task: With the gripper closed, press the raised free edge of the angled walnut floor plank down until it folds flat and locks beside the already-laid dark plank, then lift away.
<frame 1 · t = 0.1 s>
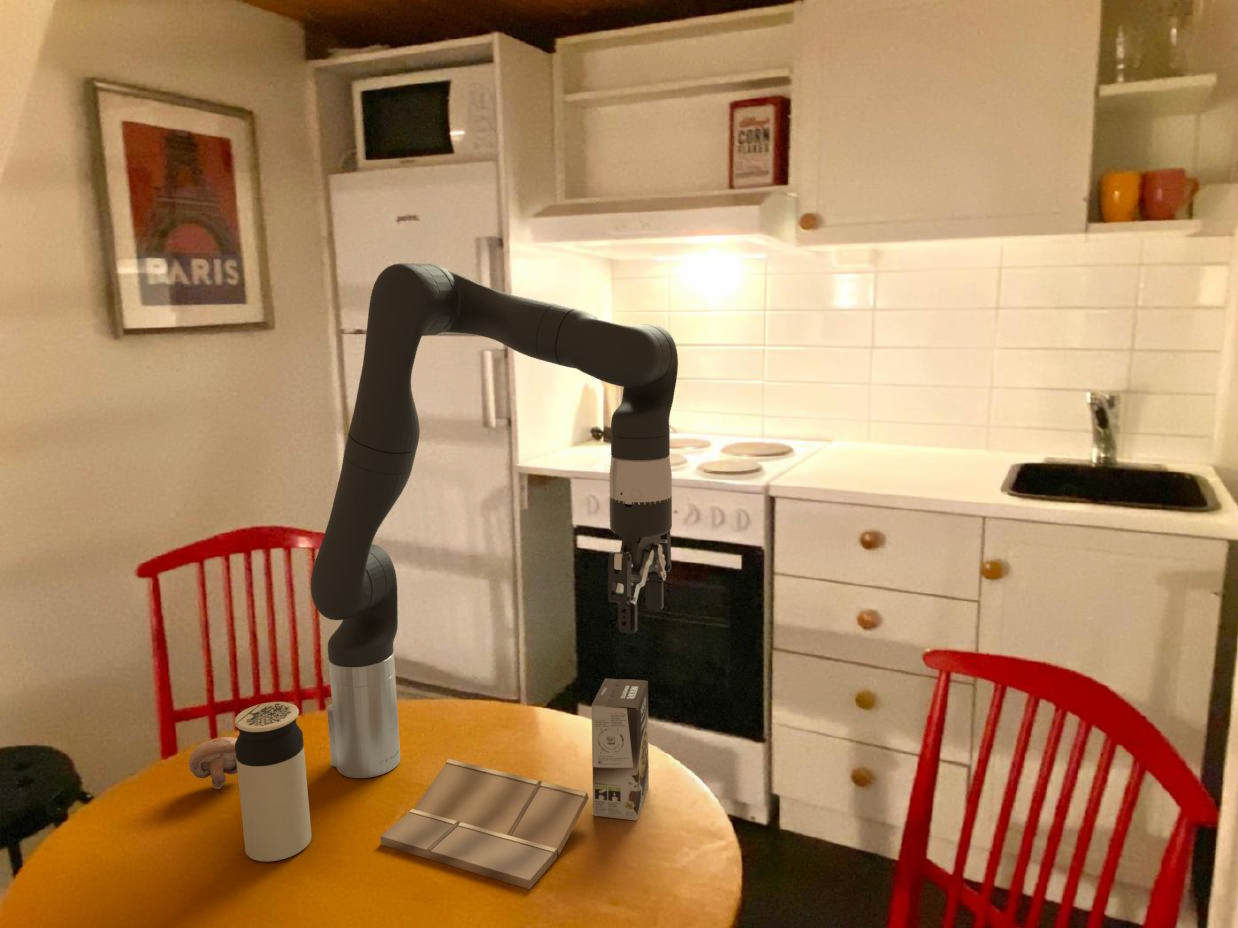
hand: (641, 620, 114), 29 cm above the table, fingers open, 8 cm apart
laid plank: (467, 850, 116), on the table
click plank: (500, 803, 122), point 2 cm above the table, hinge at 20.6°
travel mug: (279, 846, 118), on the table
coffee box: (622, 801, 127), on the table
mushroom: (221, 788, 131), on the table
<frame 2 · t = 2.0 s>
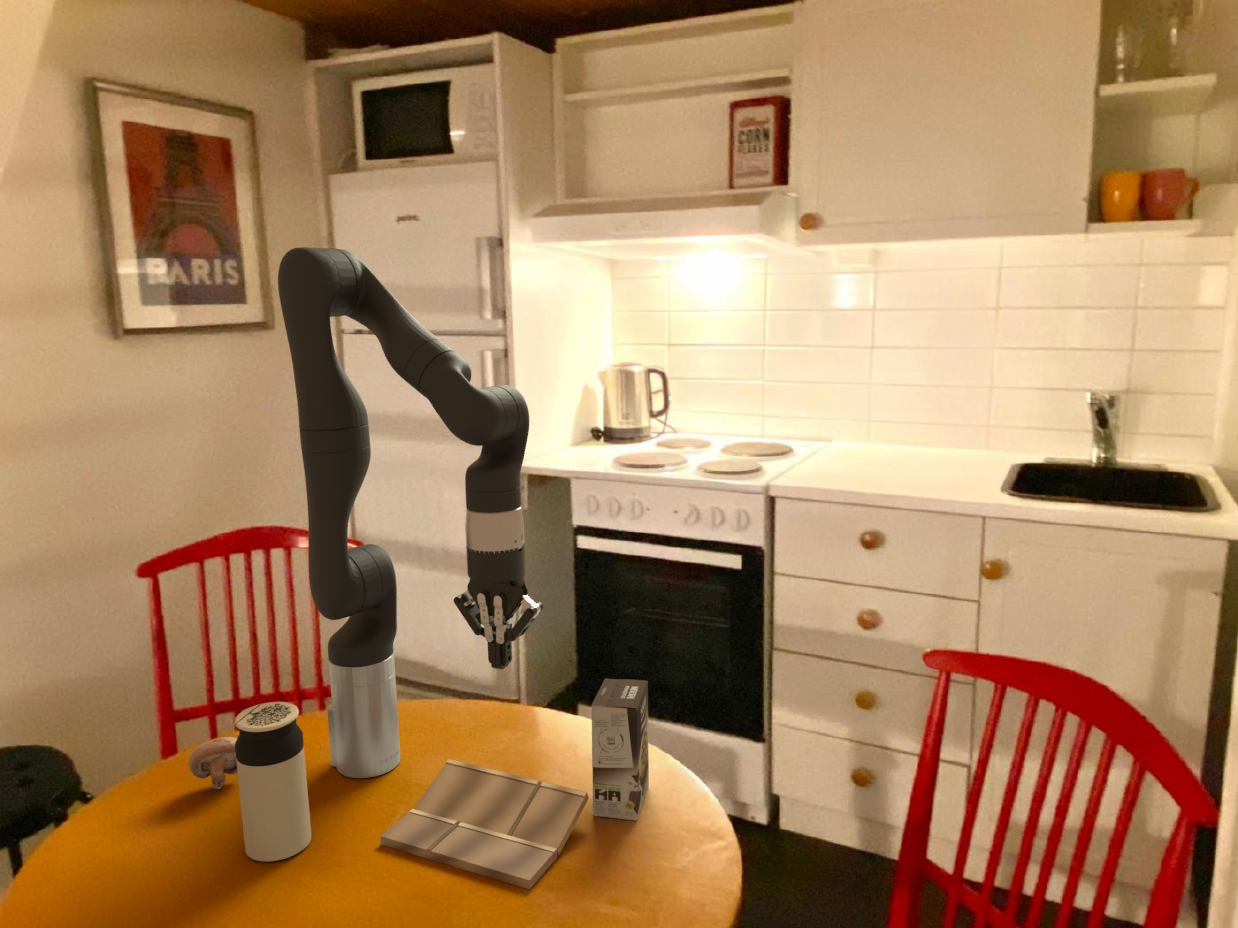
hand: (500, 666, 122), 20 cm above the table, fingers closed
nothing on the table moved.
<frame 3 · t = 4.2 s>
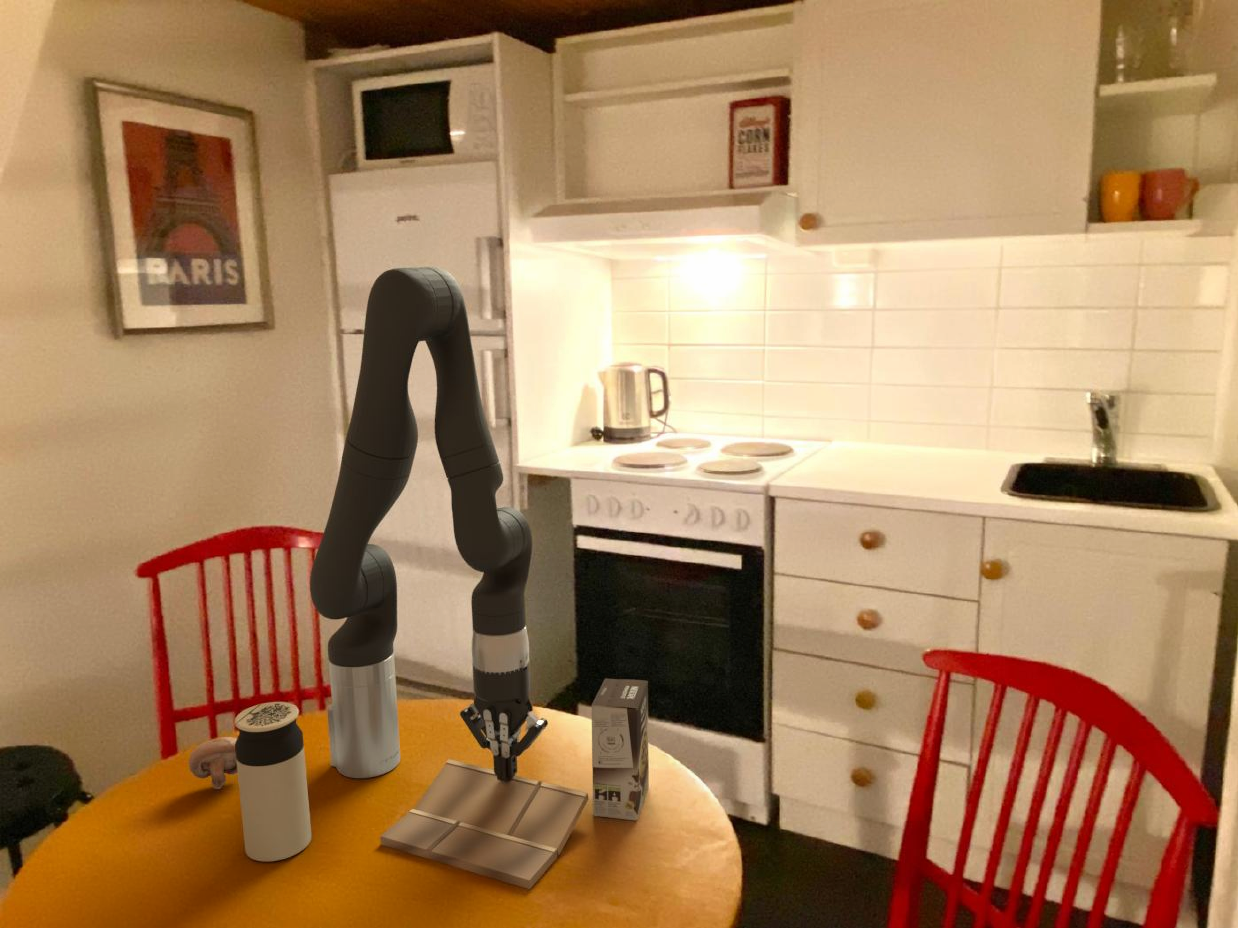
hand: (506, 778, 125), 4 cm above the table, fingers closed
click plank: (500, 803, 122), point 2 cm above the table, hinge at 20.0°, touching gripper
everything else where it was.
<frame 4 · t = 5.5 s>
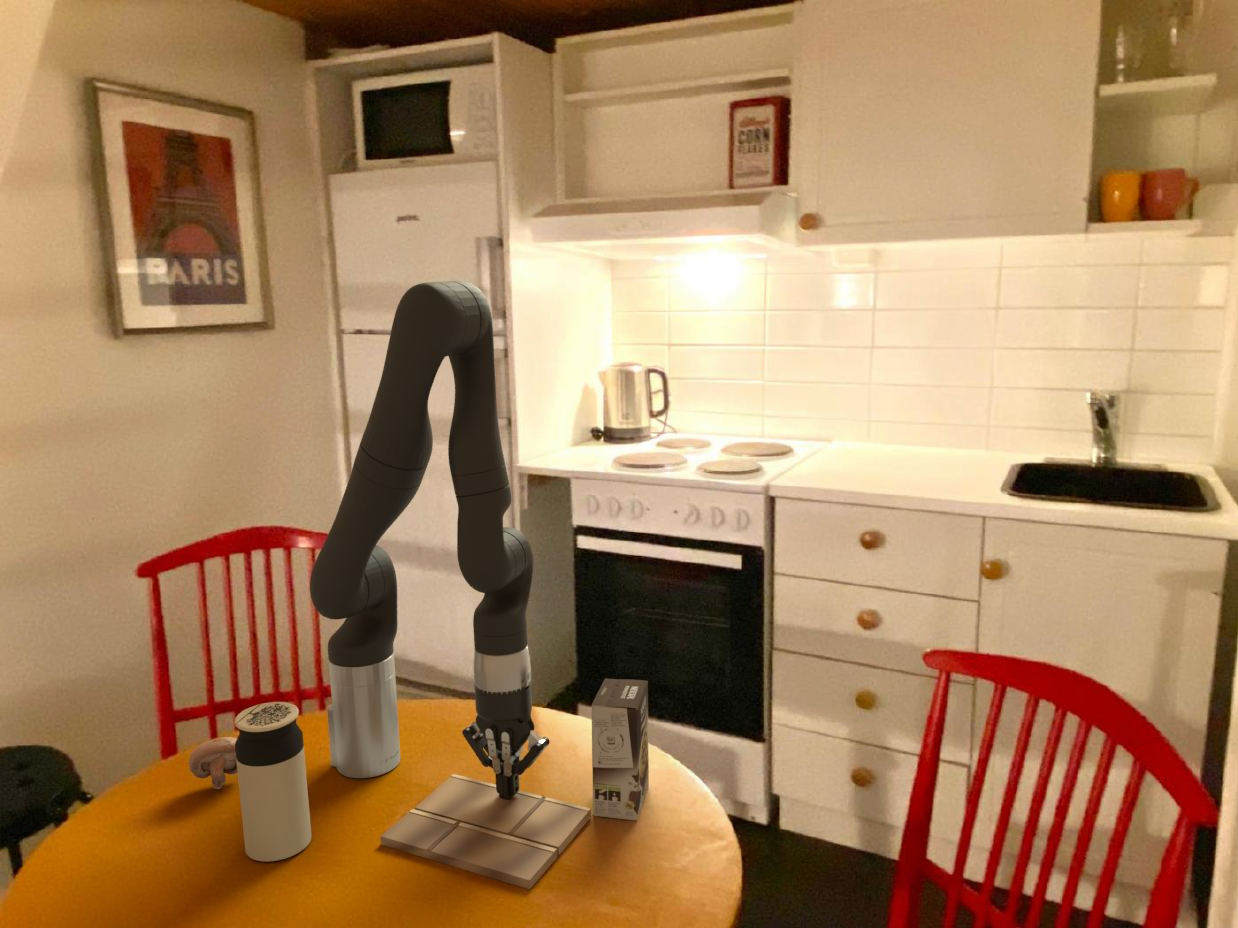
hand: (508, 796, 126), 1 cm above the table, fingers closed
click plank: (502, 811, 123), point 1 cm above the table, hinge at 1.3°, touching gripper
everything else where it was.
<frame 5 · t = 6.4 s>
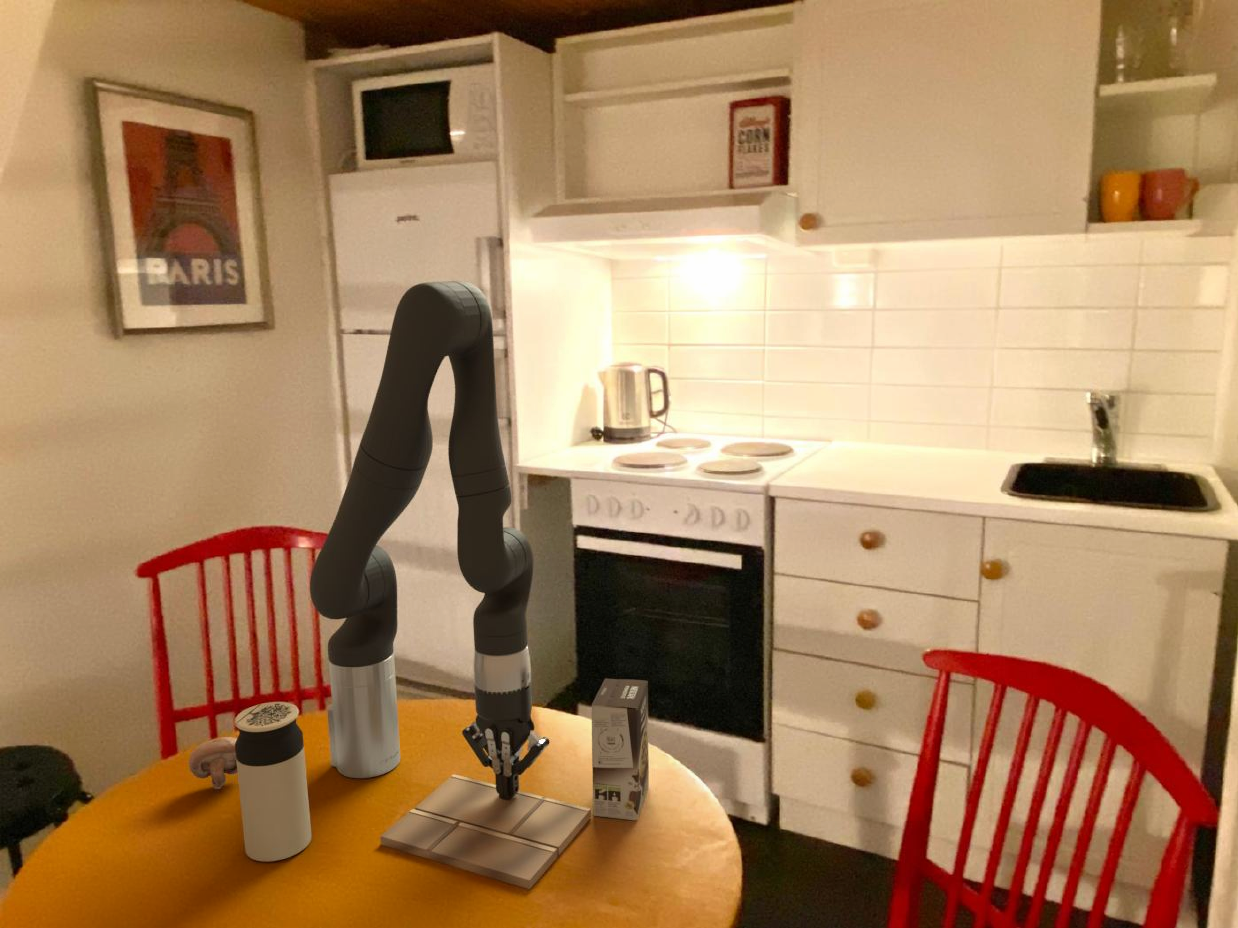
hand: (508, 796, 126), 1 cm above the table, fingers closed
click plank: (502, 811, 123), point 1 cm above the table, hinge at 0.9°, touching gripper
everything else where it was.
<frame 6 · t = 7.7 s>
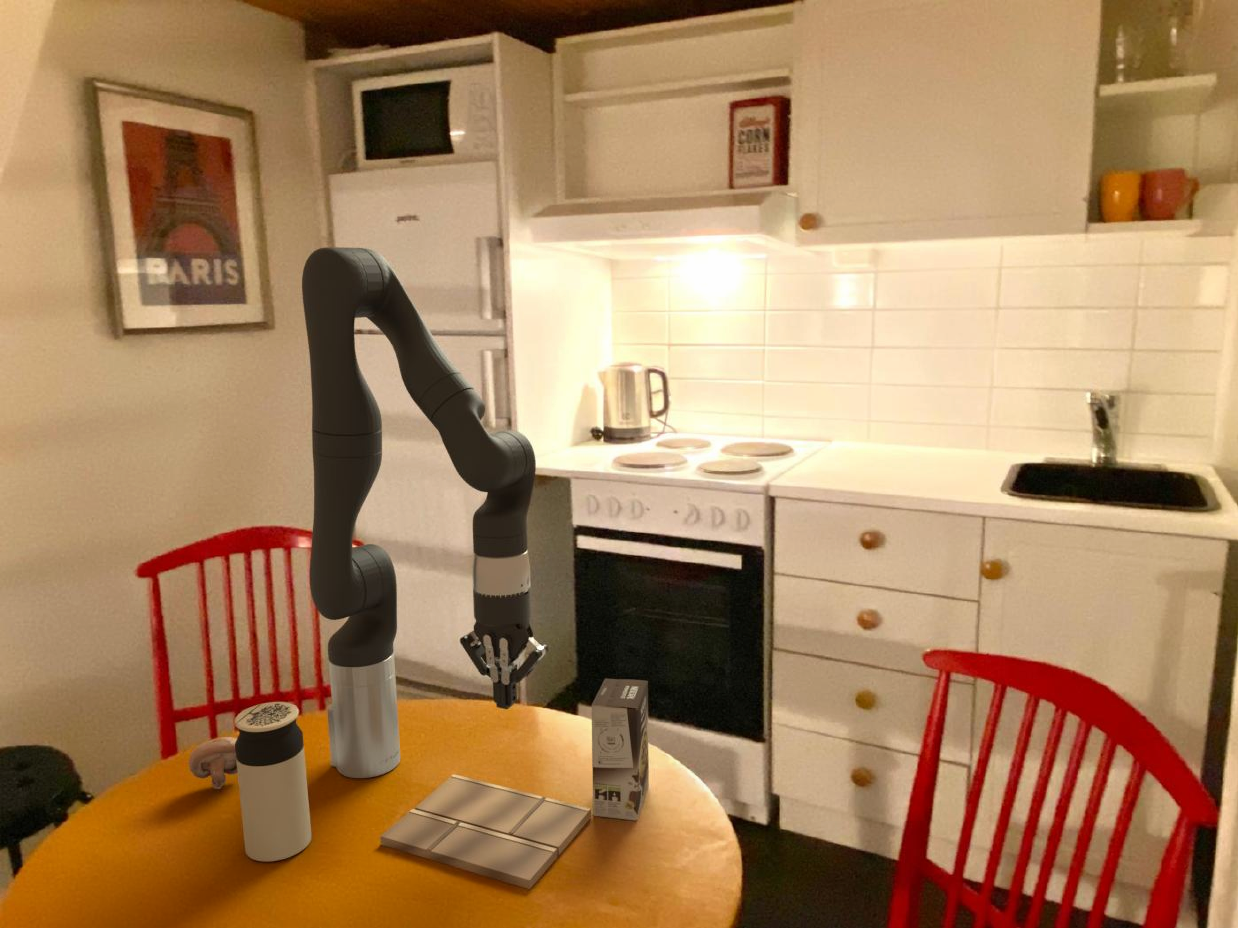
hand: (505, 706, 124), 14 cm above the table, fingers closed
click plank: (502, 811, 123), point 1 cm above the table, hinge at 0.9°
everything else where it was.
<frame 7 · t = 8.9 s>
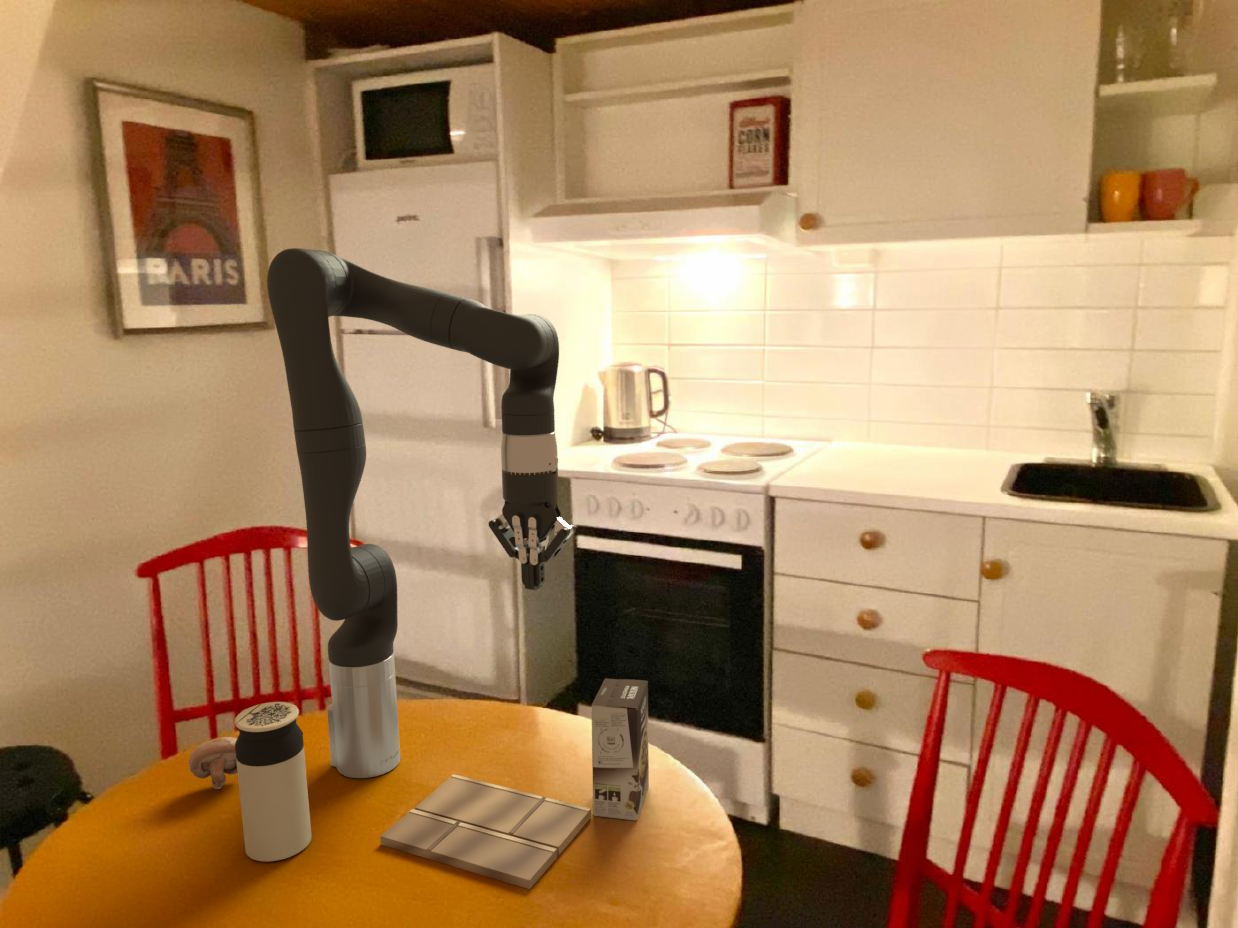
hand: (533, 588, 127), 29 cm above the table, fingers closed
nothing on the table moved.
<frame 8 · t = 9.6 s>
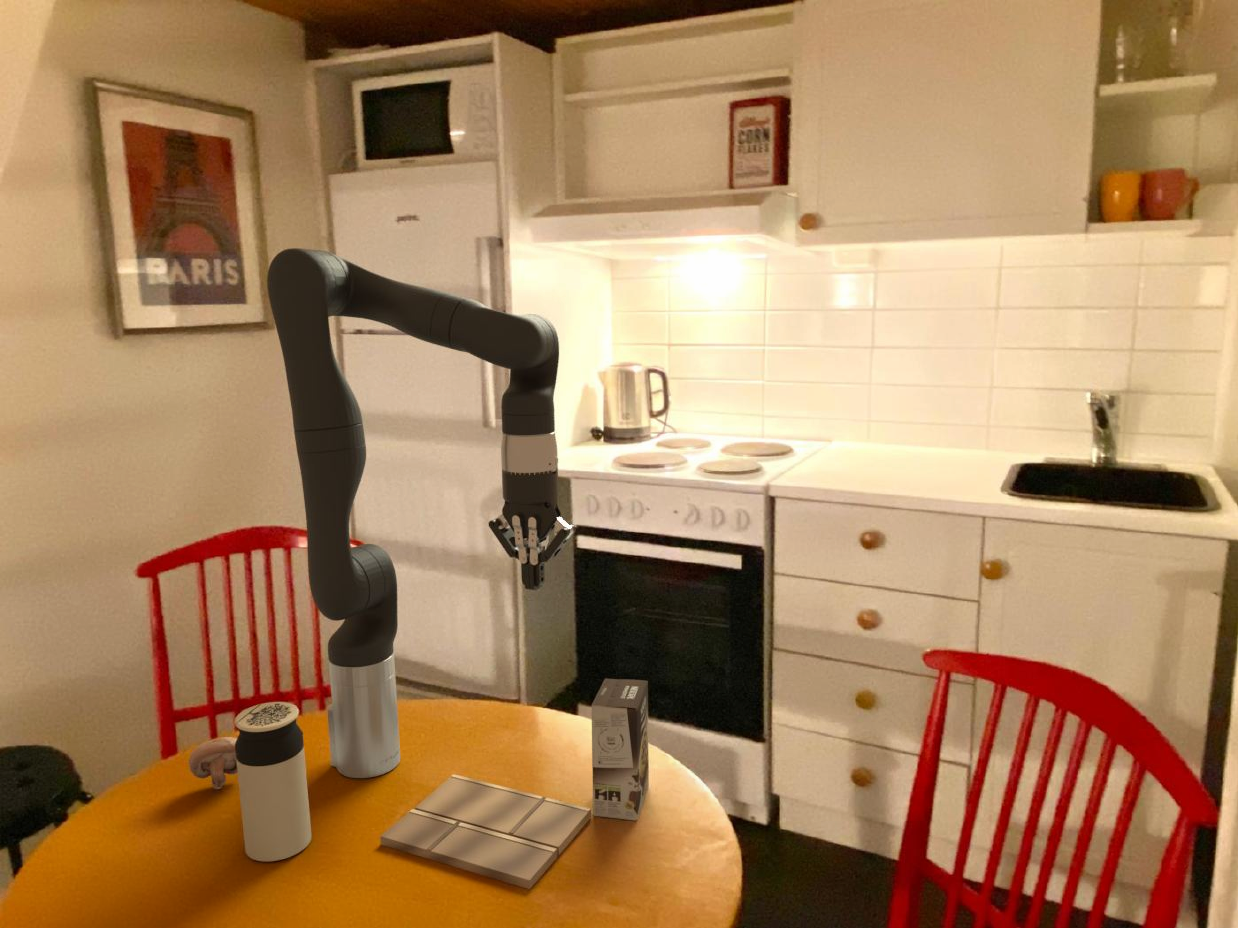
hand: (533, 588, 127), 29 cm above the table, fingers closed
nothing on the table moved.
at the end: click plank at +1° (first picture: +21°); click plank touching nothing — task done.
